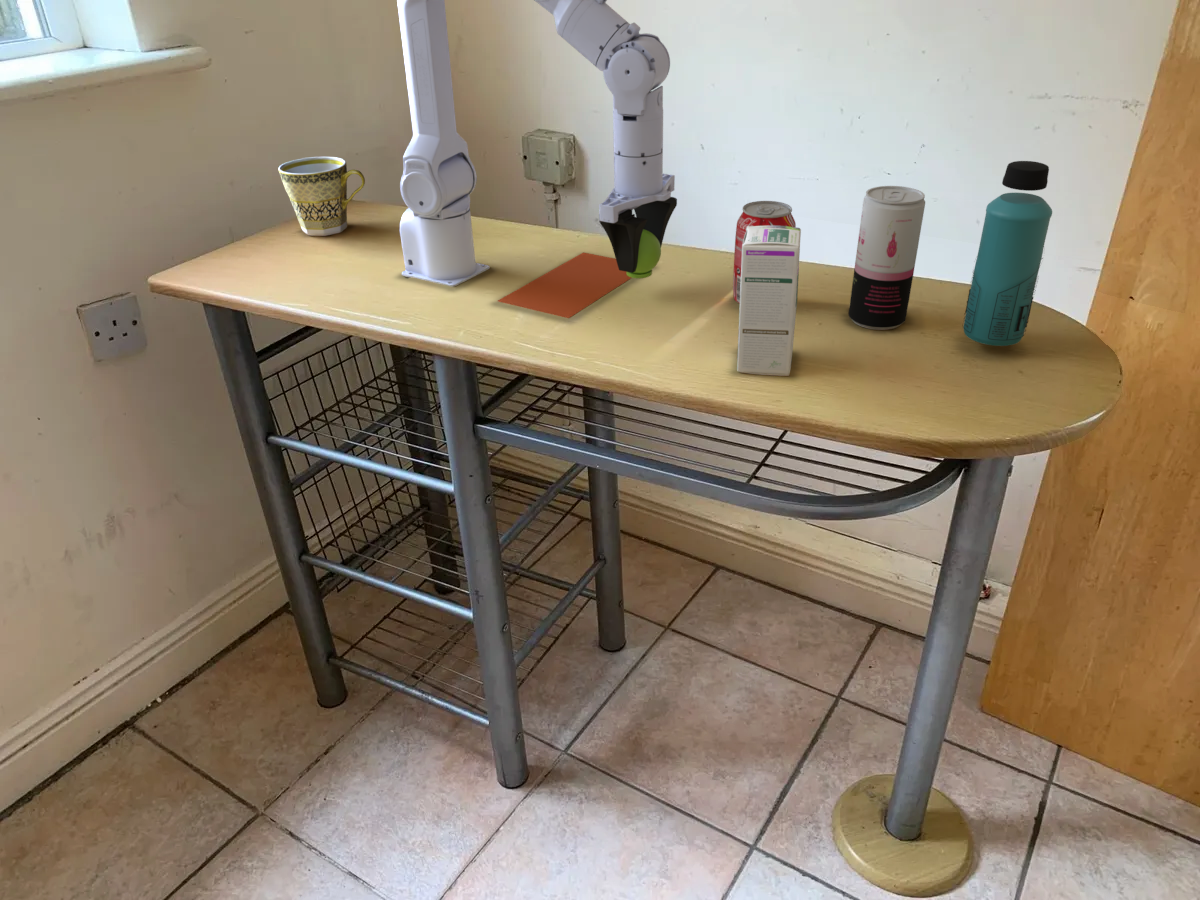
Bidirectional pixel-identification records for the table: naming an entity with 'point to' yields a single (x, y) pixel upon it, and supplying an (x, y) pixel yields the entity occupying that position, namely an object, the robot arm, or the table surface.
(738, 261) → the soda can
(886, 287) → the beverage can
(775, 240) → the syrup box
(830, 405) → the table surface
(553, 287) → the cloth
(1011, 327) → the beverage bottle
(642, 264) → the apple
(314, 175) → the ceramic cup
